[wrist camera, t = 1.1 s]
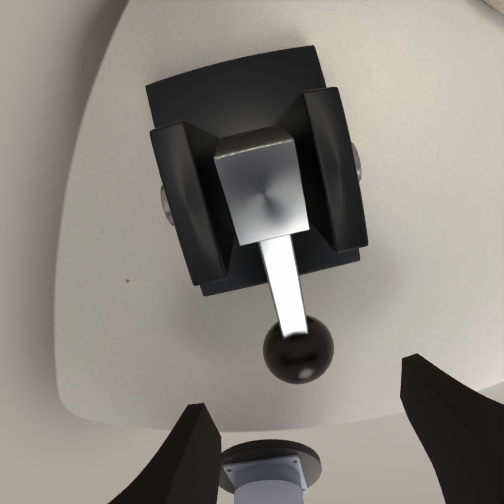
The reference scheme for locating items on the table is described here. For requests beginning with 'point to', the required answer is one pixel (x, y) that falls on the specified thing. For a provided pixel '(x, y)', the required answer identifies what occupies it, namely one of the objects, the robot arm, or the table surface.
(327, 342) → the lever
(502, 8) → the planter
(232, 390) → the table surface
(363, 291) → the table surface
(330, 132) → the bracket
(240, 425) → the table surface
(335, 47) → the table surface
